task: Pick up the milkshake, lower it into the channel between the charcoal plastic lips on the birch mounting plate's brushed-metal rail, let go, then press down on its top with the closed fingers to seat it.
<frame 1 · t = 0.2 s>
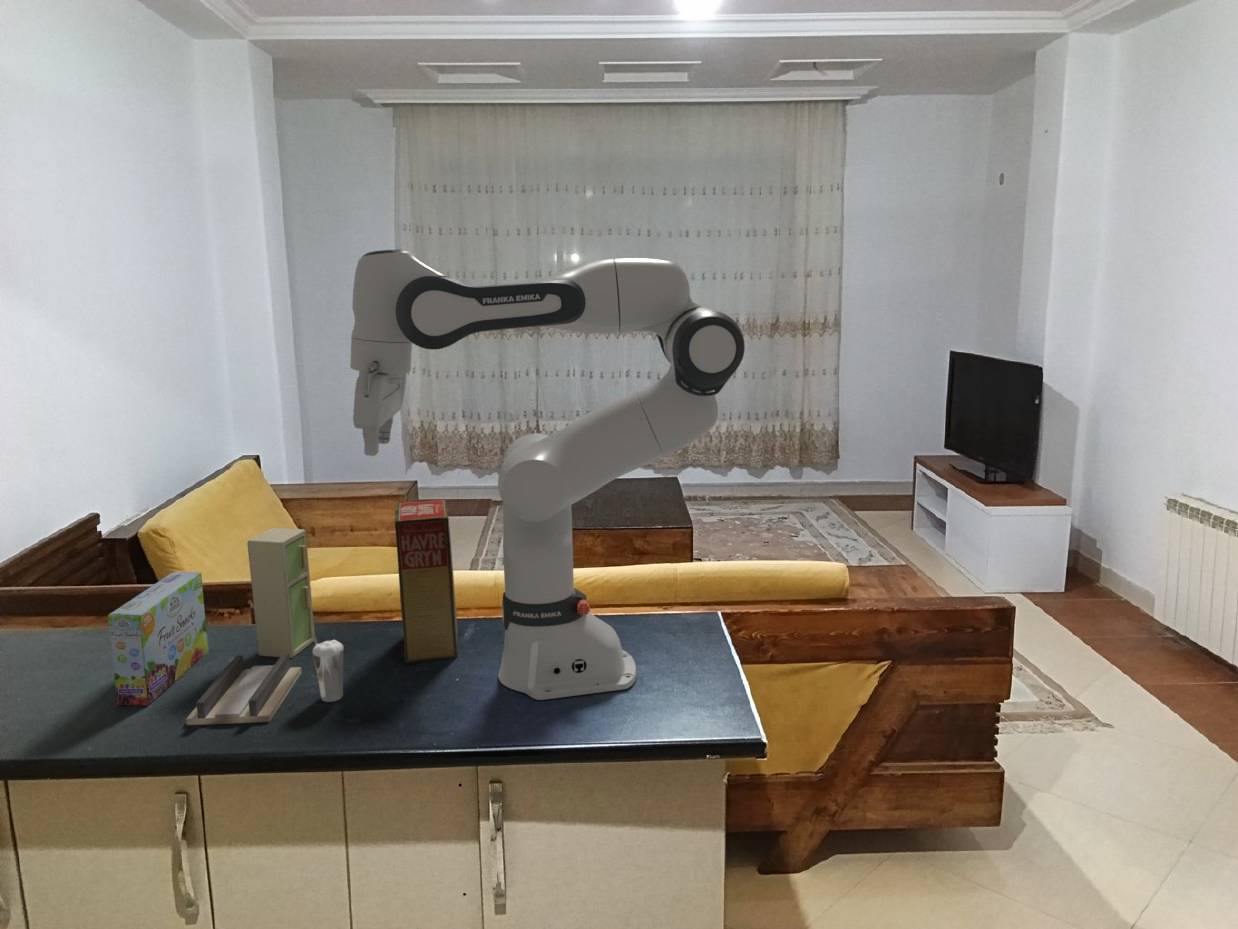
hand: (377, 448, 141), 38 cm above the worktop, tool pointing down, fingers open, 8 cm apart
food packaging: (431, 646, 163), on the worktop
milkshake: (330, 698, 144), on the worktop
rail plate: (247, 697, 144), on the worktop
snack box: (167, 678, 152), on the worktop
toy refrigerator: (289, 649, 162), on the worktop
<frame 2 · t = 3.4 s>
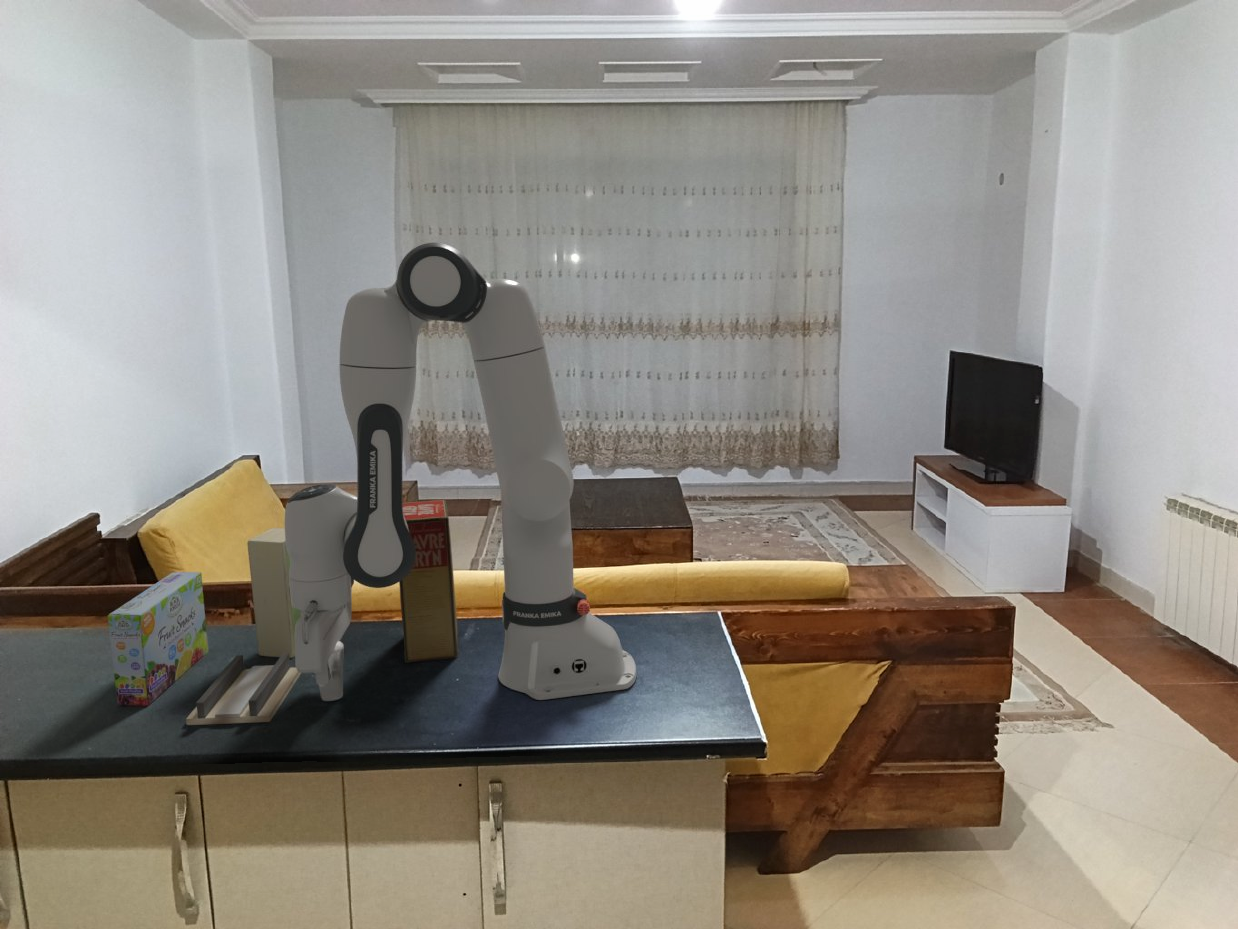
hand: (328, 675, 143), 4 cm above the worktop, tool pointing down, fingers closed on milkshake, 4 cm apart
milkshake: (330, 697, 144), on the worktop, touching gripper
everything else where it was.
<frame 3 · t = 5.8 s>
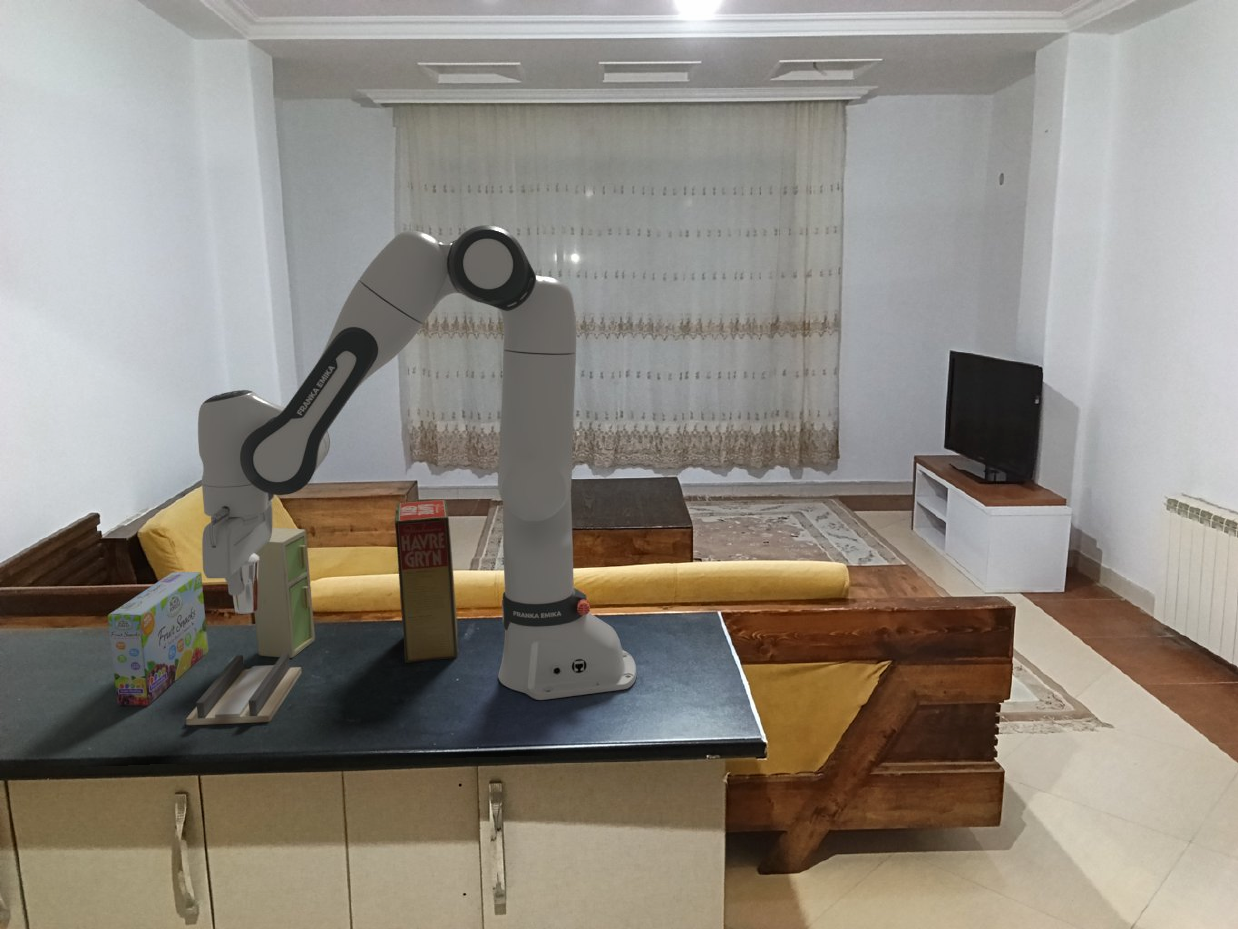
hand: (242, 587, 140), 18 cm above the worktop, tool pointing down, fingers closed on milkshake, 4 cm apart
milkshake: (244, 611, 141), point 14 cm above the worktop, touching gripper
everything else where it was.
when the fingers open (7 cm above the worktop, at t = 8.3 s): milkshake drops 1 cm, resting on rail plate.
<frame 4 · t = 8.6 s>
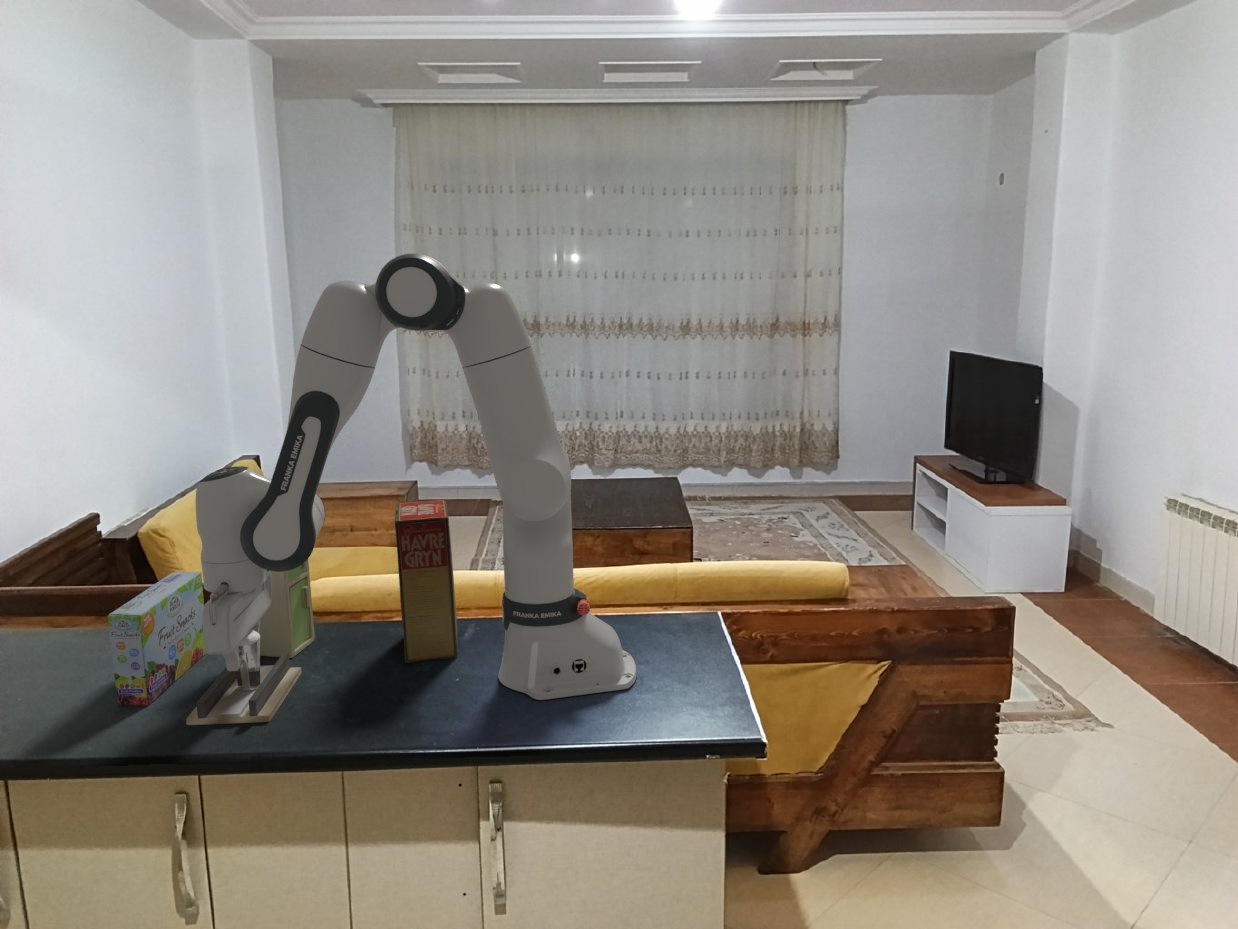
hand: (243, 658, 142), 7 cm above the worktop, tool pointing down, fingers open, 7 cm apart
milkshake: (247, 687, 144), point 1 cm above the worktop, touching rail plate
everything else where it was.
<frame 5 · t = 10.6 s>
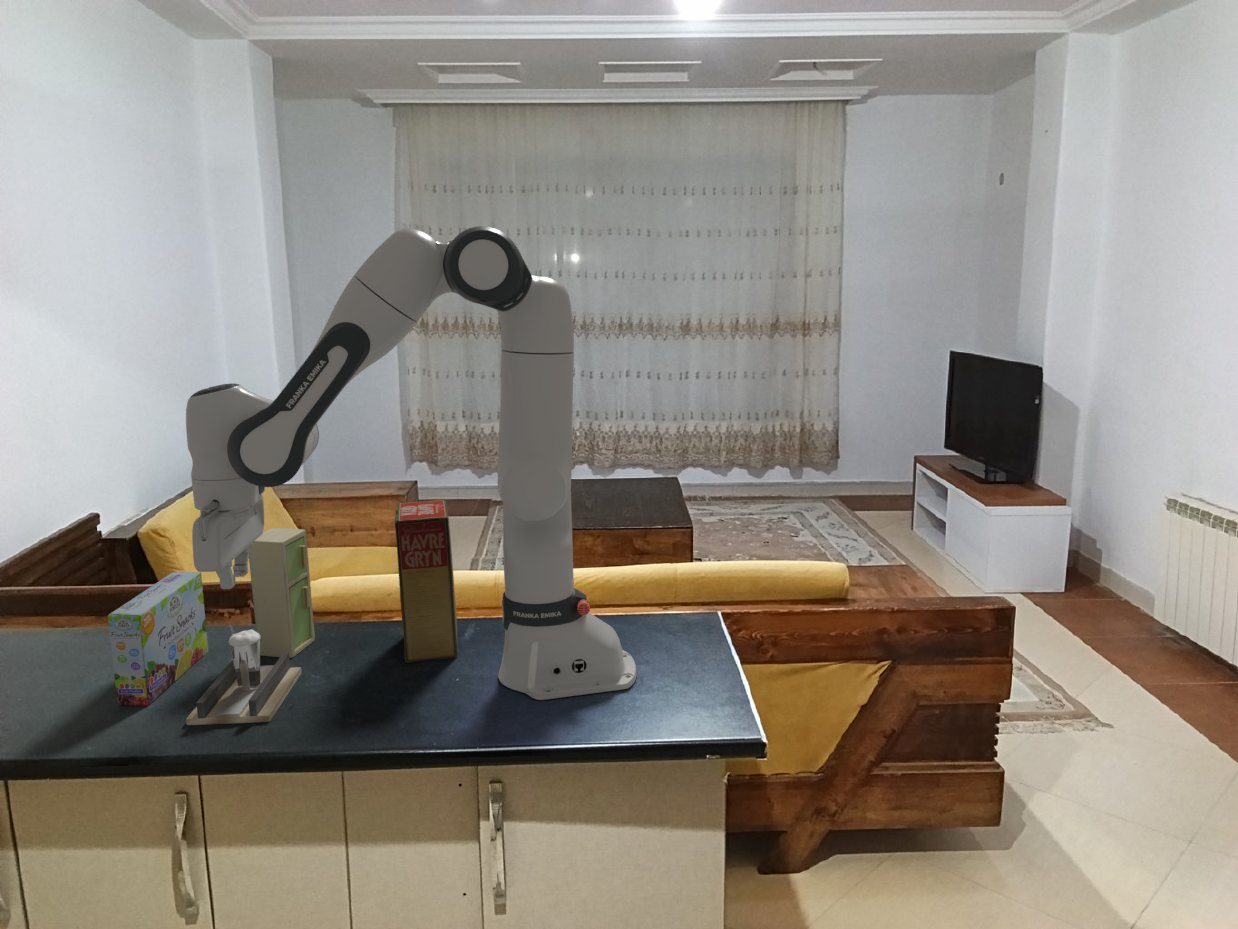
hand: (235, 581, 140), 19 cm above the worktop, tool pointing down, fingers open, 4 cm apart
nothing on the worktop moved.
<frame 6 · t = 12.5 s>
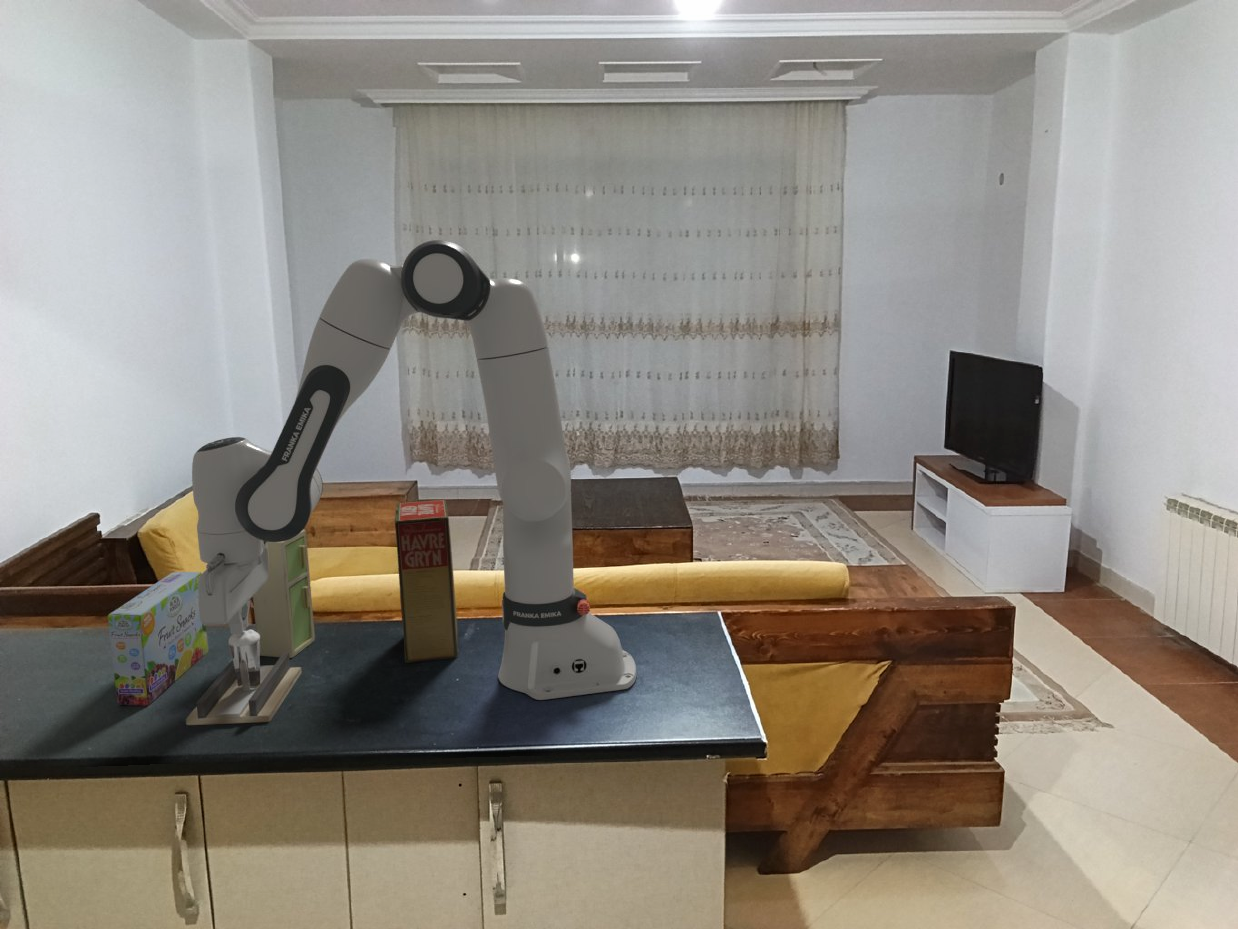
hand: (239, 631, 142), 11 cm above the worktop, tool pointing down, fingers closed, pressing on milkshake
milkshake: (247, 687, 144), point 1 cm above the worktop, touching gripper, rail plate
everything else where it was.
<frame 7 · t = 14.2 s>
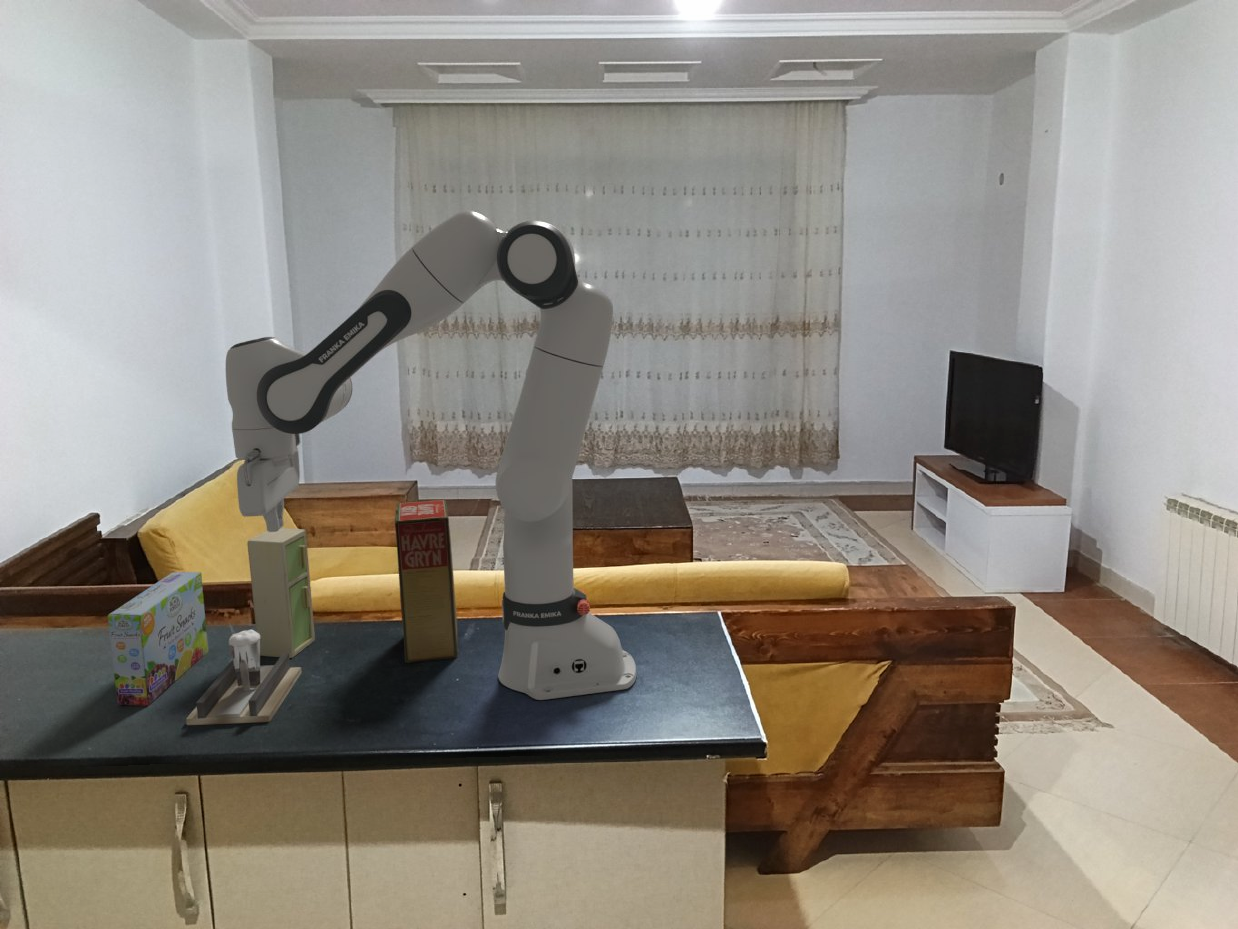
hand: (275, 529, 145), 25 cm above the worktop, tool pointing down, fingers closed
milkshake: (247, 687, 144), point 1 cm above the worktop, touching rail plate
everything else where it was.
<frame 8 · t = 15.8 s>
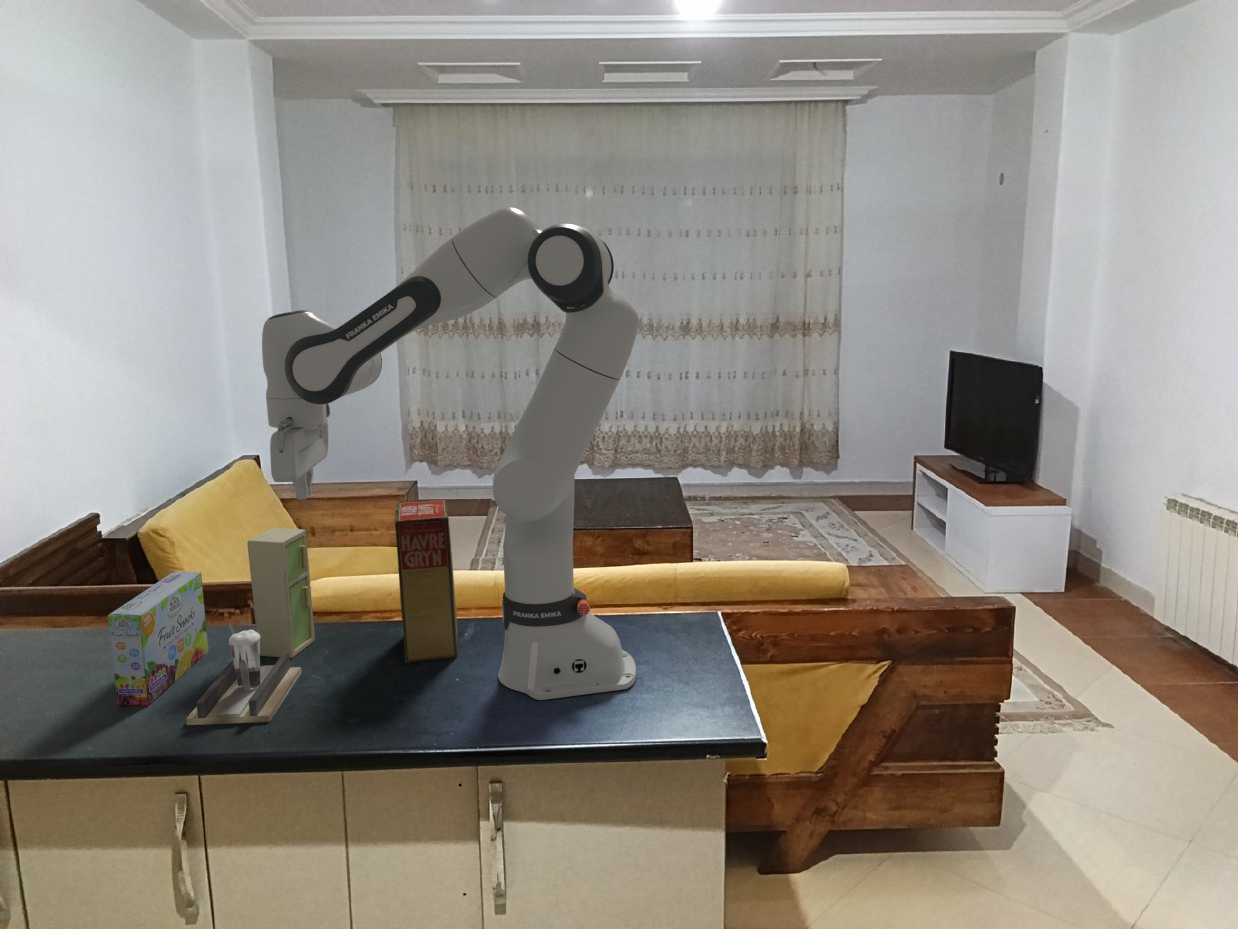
hand: (304, 497, 150), 29 cm above the worktop, tool pointing down, fingers closed
nothing on the worktop moved.
at the end: milkshake inside the target area on the rail plate (0.7 cm from its centre), point 1.3 cm above the rail plate's base; milkshake tilted 0°; the gripper is holding nothing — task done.
